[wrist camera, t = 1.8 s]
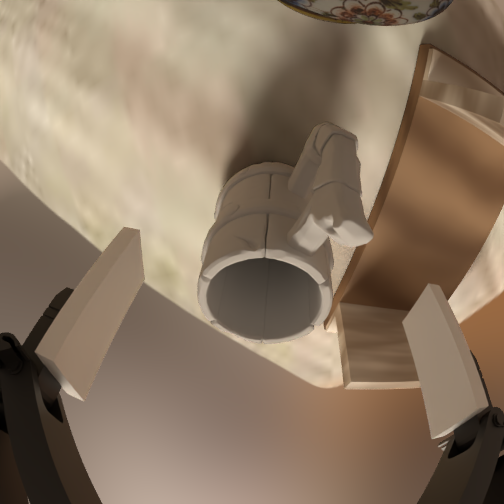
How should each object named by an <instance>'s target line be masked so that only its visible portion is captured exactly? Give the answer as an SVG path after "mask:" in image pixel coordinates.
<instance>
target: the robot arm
mask: <svg viewBox="0 0 504 504" xmlns="http://www.w3.org/2000/svg"><path fill="white" fill-rule="evenodd" d="M144 279H145V277H144V269H143V260H142V250H141V239H140V230H138V229H133V228H127V227H124V228H123V229H122V230H121V231H120V232H119V234H118V235H117V236H116V237H115V238H114V240H113V241H112V242H111V243H110V244H109V246H108V247H107V248H106V249H105V251H104V252H103V253H102V254H101V256H100V257H99V258H98V259H97V261H96V262H95V263H94V264H93V266H92V267H91V269H90V270H89V271H88V272H87V274H86V275H85V276H84V278H83V279H82V280H81V282H80V283H79V284H78V286H77V287H76V289H75V290H73V289H70V288H65V289H64V290H62V291H61V292H60V293H58V294H57V295H56V296H55V297H54V299H53V300H52V302H51V303H50V304H49V307H48V308H47V309H46V310H45V312H44V313H43V316H41V317H40V319H39V320H38V322H37V323H36V325H35V326H34V328H33V330H32V331H31V333H30V334H29V336H28V338H27V339H26V341H25V342H24V344H23V345H22V346H21V345H20V343H19V341H18V340H17V339H16V337H15V336H14V335H13V334H11V333H1V334H0V504H29V503H28V499H29V501H30V504H102V502H101V500H100V498H99V497H98V494H97V492H96V490H95V488H94V486H93V484H92V482H91V480H90V478H89V476H88V473H87V471H86V469H85V467H84V464H83V462H82V459H81V457H80V455H79V452H78V449H77V447H76V444H75V441H74V439H73V436H72V433H71V430H70V426H69V423H68V420H67V417H66V414H65V410H64V407H63V403H62V399H61V396H60V394H59V391H60V389H61V387H62V388H63V389H64V390H65V391H66V392H67V393H68V394H70V395H71V396H74V397H76V398H78V399H80V400H82V401H85V400H86V397H87V395H88V392H89V390H90V388H91V385H92V383H93V381H94V379H95V376H96V374H97V372H98V370H99V368H100V365H101V363H102V361H103V359H104V357H105V355H106V353H107V350H108V348H109V346H110V344H111V342H112V340H113V338H114V336H115V334H116V332H117V330H118V328H119V326H120V324H121V322H122V320H123V318H124V316H125V315H126V313H127V311H128V309H129V307H130V305H131V303H132V301H133V299H134V298H135V296H136V294H137V292H138V290H139V288H140V287H141V285H142V283H143V281H144ZM402 323H403V326H404V329H405V333H406V336H407V339H408V342H409V345H410V349H411V352H412V355H413V359H414V363H415V366H416V370H417V374H418V377H419V381H420V385H421V389H422V394H423V398H424V403H425V407H426V412H427V417H428V422H429V427H430V433H431V438H432V439H434V438H438V437H442V436H444V435H446V434H448V433H450V432H451V431H453V430H454V435H452V436H450V437H449V438H447V439H445V440H443V441H442V442H440V444H439V445H438V447H440V446H442V445H444V444H446V443H447V445H445V446H444V447H442V450H444V452H443V455H442V457H441V459H440V461H439V463H438V466H437V468H436V470H435V472H434V474H433V476H432V478H431V480H430V482H429V484H428V485H427V487H426V489H425V491H424V493H423V494H422V496H421V498H420V499H419V501H418V503H417V504H504V455H502V456H500V457H499V453H500V451H502V450H504V413H503V411H501V409H500V408H498V407H492V404H491V401H490V397H489V394H488V391H487V388H486V385H485V382H484V379H483V378H482V373H481V371H480V370H479V369H480V368H479V365H478V362H477V360H476V358H475V356H474V355H473V353H472V352H471V350H469V347H468V345H467V342H466V340H465V338H464V335H463V333H462V331H461V328H460V327H459V324H458V322H457V320H456V318H455V315H454V313H453V311H452V309H451V307H450V305H449V303H448V301H447V299H446V297H445V295H444V293H443V291H442V289H441V288H440V286H439V285H435V284H429V283H428V285H427V286H426V288H425V289H424V291H423V292H422V294H421V296H420V297H419V299H418V300H417V302H416V303H415V305H414V306H413V307H412V309H411V310H410V312H409V313H408V315H407V316H406V317H405V319H404V320H403V322H402ZM498 457H499V458H498ZM27 497H28V498H27Z"/></svg>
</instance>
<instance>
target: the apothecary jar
mask: <svg viewBox="0 0 504 504" xmlns="http://www.w3.org/2000/svg"><path fill="white" fill-rule="evenodd" d="M278 1H279V2H281V3H282V4H284V5H285V6H287V7H289V8H291V9H292V10H294V11H296V12H299V13H301V14H304V15H306V16H309V17H312V18H315V19H319V20H323V21H328V22H334V23H343V24H355V23H359V24H367V25H378V26H397V25H406V24H413V23H418V22H421V21H425V20H427V19H430V18H432V17H435V16H436V15H438V14H440V13H441V12H443V11H444V10H445V9H446V8H447V7H448V6H449V5H450V4H451V3H452V2H453V0H278Z"/></svg>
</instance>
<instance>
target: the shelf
mask: <svg viewBox="0 0 504 504" xmlns="http://www.w3.org/2000/svg"><path fill="white" fill-rule="evenodd" d="M503 205H504V93H503V92H502V91H500V90H499V89H498V88H497V87H495V86H494V85H493V84H492V83H490V82H489V81H488V80H486V79H485V78H484V77H482V76H481V75H479V74H478V73H477V72H475V71H474V70H472V69H471V68H469V67H468V66H466V65H465V64H463V63H462V62H460V61H459V60H457V59H455V58H454V57H452V56H451V55H449V54H447V53H446V52H444V51H442V50H440V49H439V48H437V47H435V46H433V45H431V44H423V45H420V48H419V53H418V58H417V63H416V68H415V72H414V77H413V81H412V85H411V89H410V93H409V97H408V101H407V105H406V109H405V112H404V116H403V120H402V123H401V127H400V130H399V133H398V137H397V140H396V143H395V146H394V149H393V152H392V156H391V159H390V162H389V165H388V168H387V170H386V173H385V176H384V179H383V182H382V185H381V187H380V190H379V193H378V195H377V198H376V201H375V203H374V206H373V209H372V211H371V214H370V216H369V219H368V221H367V222H368V224H369V226H370V227H371V229H372V231H373V234H374V236H373V238H372V240H371V241H369V242H368V243H367V244H363V245H360V246H357V248H356V250H355V252H354V254H353V257H352V259H351V261H350V263H349V266H348V268H347V270H346V272H345V274H344V276H343V279H342V281H341V283H340V285H339V287H338V289H337V291H336V293H335V295H334V297H333V301H332V306H331V309H330V312H329V314H328V316H327V318H326V319H325V320H324V329H326V332H333V333H338V339H339V347H340V355H341V364H342V373H343V382H344V389H403V388H420V387H421V385H420V381H419V377H418V374H417V370H416V366H415V363H414V359H413V355H412V352H411V349H410V345H409V342H408V339H407V336H406V333H405V329H404V326H403V323H402V322H403V320H404V319H405V317H406V316H407V315H408V313H409V312H410V310H411V309H412V307H413V306H414V305H415V303H416V302H417V300H418V299H419V297H420V296H421V294H422V292H423V291H424V289H425V288H426V286H427V285H428V283H429V284H435V285H439V286H440V288H441V289H442V291H443V293H444V295H445V297H446V299H447V301H448V300H449V298H450V297H451V295H452V294H453V292H454V291H455V290H456V288H457V287H458V285H459V284H460V282H461V281H462V279H463V278H464V276H465V275H466V273H467V271H468V270H469V268H470V267H471V265H472V263H473V262H474V260H475V258H476V257H477V255H478V253H479V252H480V250H481V248H482V246H483V244H484V243H485V241H486V239H487V237H488V235H489V233H490V232H491V230H492V228H493V226H494V224H495V222H496V220H497V218H498V216H499V213H500V211H501V209H502V207H503Z"/></svg>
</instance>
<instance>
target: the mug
mask: <svg viewBox="0 0 504 504" xmlns="http://www.w3.org/2000/svg"><path fill="white" fill-rule="evenodd" d="M357 150H358V140H357V137H356V136H355V135H354V134H352V133H350V132H348V131H346V130H344V129H342V128H340V127H338V126H336V125H334V124H332V123H329V122H324V123H321V124H319V125H317V126H315V127H314V128H313V130H312V132H311V134H310V136H309V137H308V139H307V141H306V144H305V146H304V149H303V151H302V154H301V156H300V158H299V160H298V162H297V164H296V166H295V168H294V167H292V166H290V165H287V164H284V163H280V162H273V163H271V162H262V164H253V165H251V166H249V167H247V168H245V169H242V170H241V171H239V172H238V173H236V174H235V175H234V176H233V177H231V178H230V179H229V180H228V182H227V183H226V184H225V186H224V187H223V189H222V190H221V192H220V194H219V196H218V199H217V203H216V208H215V213H214V217H215V221H216V222H215V223H214V224H213V226H212V227H211V228H210V230H209V232H208V234H207V237H206V239H205V241H204V245H203V250H202V255H201V261H202V264H203V265H202V269H201V272H200V275H199V279H198V292H197V297H198V303H199V305H200V308H201V311H202V313H203V314H204V316H205V317H206V319H207V320H208V321H211V324H213V325H214V326H216V327H217V328H219V329H220V330H221V331H224V332H229V333H231V334H234V335H235V336H237V337H239V338H242V339H244V340H245V341H249V342H253V343H262V341H263V343H264V344H276V343H283V342H288V341H292V340H296V339H298V338H301V337H303V336H306V335H308V334H309V333H310V332H311V331H313V330H314V325H316V326H320V325H321V324H322V323H323V322H324V320H325V319H326V318H327V316H328V314H329V312H330V309H331V306H332V301H333V289H332V281H331V271H332V270H333V265H334V259H333V253H332V247H331V243H330V240H329V237H330V238H331V239H332V240H334V241H335V242H336V243H338V244H340V245H344V246H348V247H356V246H360V245H363V244H367V243H368V242H369V241H371V240H372V238H373V236H374V234H373V231H372V229H371V227H370V226H369V224H368V222H367V220H366V218H365V215H364V211H363V205H362V201H361V197H362V190H361V181H360V166H361V164H360V161H359V159H358V157H357V154H356V152H357ZM328 236H329V237H328Z"/></svg>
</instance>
